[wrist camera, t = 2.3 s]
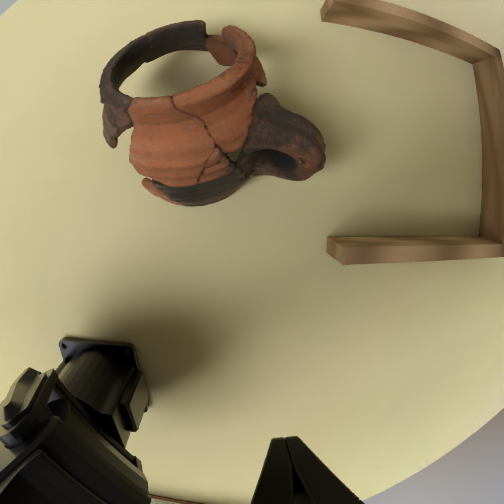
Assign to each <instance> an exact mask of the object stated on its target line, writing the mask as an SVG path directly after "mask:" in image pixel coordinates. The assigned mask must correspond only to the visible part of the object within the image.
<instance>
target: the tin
mask: <svg viewBox="0 0 504 504" xmlns="http://www.w3.org/2000/svg"><path fill="white" fill-rule="evenodd" d="M148 495H149V494H148ZM149 496H150V497H151V504H199V503H192V502H185V501H179V500H173V499H168V498H163V497H158V496H154V495H149Z"/></svg>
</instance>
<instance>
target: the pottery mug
mask: <svg viewBox="0 0 504 504" xmlns="http://www.w3.org/2000/svg"><path fill="white" fill-rule="evenodd" d="M180 50H202V51H209V52H210V53H211V54H212V56H213V57H214V58H215V60H216V61H217V62H218V63H219V64H220V65H224V66H225V65H226V66H231V67H230V68H228V69H227V70H226V71H225V72H223V73H222V74H220V75H219V76H217V77H215V78H214V79H212V80H210V81H208V82H206V83H204V84H202V85H200V86H197V87H195V88H193V89H190V90H187V91H183V92H180V93H177V94H175V95H173V96H162V97H150V98H140V97H136V98H132V97H130V96H128V95H125V94H123V93H122V92H120V91H119V87H120V86H121V84H122V83H123V81H124V80H125V79H126V78H127V77H129V76H130V75H131V74H132V73H133V72H135V71H136V70H137V69H138V68H139V67H140V66H141V65H142V64H143V63H144V62H146V63H148V62H151V61H153V60H155V59H157V58H159V57H161V56H163V55H165V54H168V53H171V52H174V51H180ZM266 83H267V81H266V77H265V73H264V70H263V68H262V64H261V62H260V61H259V59H258V58H257V56H256V47H255V44H254V41H253V40H252V39H251V37H250V36H249V35H248V34H247V33H246V32H245V31H243V30H241V29H239V28H238V27H235V26H232V25H229V26H227V27H224V28H223V29H222V36H219V35H207V34H206V23H205V22H204V21H202V20H194V21H184V22H179V23H174V24H170V25H167V26H163V27H160V28H157V29H155V30H153V31H151V32H148V33H146V34H145V35H143V36H141V37H139V38H137V39H135V40H133V41H131V42H130V43H129V44H128V45H126V46H125V47H124V48H122V49H121V50H119V51H118V52H117V53H116V54H115V55H114V56H113V57H112V58H111V60H110V61H109V62H108V63H107V65H106V67H105V68H104V70H103V73H102V75H101V80H100V85H99V88H100V95H101V103H104V108H103V115H102V117H103V127H104V130H103V135H104V137H105V139H106V141H107V143H108V144H109V146H110V147H111V148H116V146H117V143H118V137H119V136H120V135H121V134H122V133H123V132H124V131H125V130H126V129H129V128H131V127H133V126H134V130H133V133H132V136H131V145H130V155H129V161H130V163H131V164H133V166H134V168H135V169H136V170H137V172H138V173H139V174H141V175H144V176H147V177H150V178H152V181H151V180H150V179H148V178H144V179H143V180H142V185H143V186H144V187H145V188H146V189H147V190H148V191H149V192H150V193H152V194H154V195H155V196H158V197H161V198H162V199H164V200H166V201H168V202H171V203H173V204H177V205H184V206H204V205H208V204H212V203H215V202H218V201H220V200H223V199H225V198H227V197H228V196H229V195H231V194H232V193H233V192H235V191H236V190H237V189H238V188H240V187H241V186H242V185H243V184H244V182H245V181H246V180H247V179H248V178H249V177H250V176H257V175H271V176H276V177H279V178H283V179H287V180H292V181H303V180H306V179H308V178H309V177H311V176H312V175H313V174H314V173H316V172H318V171H320V170H322V169H323V167H324V164H325V160H326V157H325V153H324V151H325V143H324V139H323V136H322V134H321V133H320V131H319V130H318V128H317V127H316V126H315V125H314V124H313V123H311V122H310V121H309V120H307V119H306V118H304V117H303V116H300V115H298V114H296V113H293V112H290V111H288V110H286V109H285V108H283V107H282V106H281V105H280V104H279V103H278V101H277V99H276V98H275V97H274V96H273V95H272V94H269V93H264V94H262V95H260V96H259V98H257V93H258V92H257V89H256V85H258V86H260V87H264V86H266V85H267V84H266ZM242 148H243V150H242V151H241V153H240V155H239V157H238V159H237V161H236V162H233V161H232V160H230V158H229V157H228V156H227V154H228V153H233V152H237V151H239V150H240V149H242Z"/></svg>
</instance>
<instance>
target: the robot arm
mask: <svg viewBox="0 0 504 504" xmlns="http://www.w3.org/2000/svg"><path fill="white" fill-rule="evenodd" d="M64 344H65V345H66V346H65V345H64ZM59 347H60V350H61V353H62V357H63V362H62V363H61V364H60V365H59V367H58V368H57V369H56V370H54V369H51V370H49V371H47V372H45V373H41V372H40V371H39V372H38V371H36V370H34V369H32V368H30V367H29V368H27V369H26V370H24V372H23V373H22V374H21V375H20V376H19V377H18V378H17V379H16V381H15V382H14V383H13V384H12V386H11V388H10V390H9V392H8V394H7V397H6V398H5V399H4V400H3V401H2V403H1V404H0V504H151V497H150V496H149V495H148V481H147V479H146V477H145V475H144V473H143V471H142V464H141V461H140V460H139V459H138V458H137V457H136V456H133V455H132V454H130V453H129V452H128V451H127V450H126V449H125V447H126V444H127V441H128V438H129V435H130V432H136V431H137V430H138V429H139V425H140V422H141V419H142V416H143V413H144V412H147V410H148V402H147V401H148V398H149V395H148V391H147V387H146V383H145V378H144V374H143V372H142V371H141V370H140V369H139V365H138V360H137V356H136V351H135V348H134V346H133V345H132V344H130V343H118V342H103V341H90V340H78V339H68V338H63V339H62V340H61V341H60V342H59ZM126 349H129V350H130V352H128V351H127V350H126ZM251 504H364V502H363V501H361V500H359V498H358V497H357V496H356V495H355V494H354V493H353V492H352V491H351V490H350V489H349V488H348V487H347V486H346V485H345V484H344V483H343V482H342V481H340V480H339V479H338V478H337V477H336V476H335V475H334V474H333V473H332V472H331V471H330V469H329V468H328V467H327V466H326V465H325V464H324V463H323V462H322V461H321V460H320V459H319V458H318V457H317V456H316V455H315V454H314V453H313V452H312V451H311V450H310V449H309V448H308V447H307V446H306V444H305V443H304V442H303V441H302V440H301V439H300V438H299V437H298V436H291V437H286V438H283V437H280V438H273V439H272V440H271V442H270V446H269V449H268V452H267V455H266V459H265V462H264V465H263V468H262V471H261V474H260V477H259V480H258V483H257V486H256V489H255V492H254V495H253V498H252V501H251Z"/></svg>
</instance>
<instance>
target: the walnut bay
mask: <svg viewBox="0 0 504 504" xmlns="http://www.w3.org/2000/svg"><path fill="white" fill-rule="evenodd" d="M320 13H321V21H324V22H331V23H337V24H343V25H348V26H353V27H358V28H363V29H368V30H372V31H376V32H380V33H384V34H388V35H392V36H396V37H399V38H403V39H406V40H410V41H413V42H416V43H419V44H422V45H425V46H428V47H431V48H434V49H437V50H439V51H442V52H445V53H447V54H450V55H452V56H455V57H457V58H460V59H462V60H465V61H467V62H469V63H472V64H473V68H474V74H475V80H476V86H477V93H478V101H479V110H480V121H481V134H482V160H483V181H482V207H481V221H480V231H479V236H380V237H327V253H328V254H330V255H331V256H332V257H333V258H335V259H336V260H337V261H338V262H340V263H341V264H342V265H351V264H376V263H398V262H420V261H440V260H458V259H476V258H493V257H504V67H503V63H502V58H501V54H500V50H499V49H497V48H495V47H493V46H492V45H490V44H488V43H486V42H484V41H482V40H480V39H479V38H477V37H475V36H473V35H471V34H469V33H466V32H464V31H462V30H460V29H458V28H456V27H454V26H451V25H449V24H447V23H444V22H442V21H440V20H437V19H435V18H432V17H430V16H427V15H424V14H422V13H419V12H416V11H413V10H410V9H407V8H404V7H401V6H398V5H395V4H392V3H388V2H385V1H381V0H326V1H325V3H324V5H323V6H322V8H321V10H320Z"/></svg>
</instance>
